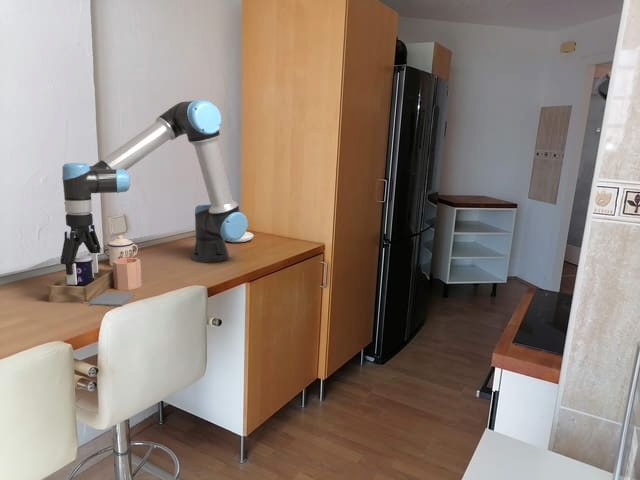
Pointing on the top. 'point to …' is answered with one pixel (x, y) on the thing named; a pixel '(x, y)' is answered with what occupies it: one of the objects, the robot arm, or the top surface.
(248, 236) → the white bowl
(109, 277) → the crate
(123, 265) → the pot
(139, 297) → the top surface
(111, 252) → the teacup with lid
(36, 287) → the top surface
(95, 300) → the coaster
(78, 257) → the beverage can
